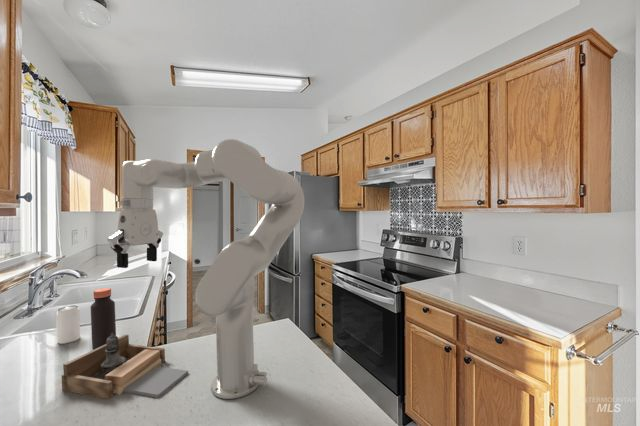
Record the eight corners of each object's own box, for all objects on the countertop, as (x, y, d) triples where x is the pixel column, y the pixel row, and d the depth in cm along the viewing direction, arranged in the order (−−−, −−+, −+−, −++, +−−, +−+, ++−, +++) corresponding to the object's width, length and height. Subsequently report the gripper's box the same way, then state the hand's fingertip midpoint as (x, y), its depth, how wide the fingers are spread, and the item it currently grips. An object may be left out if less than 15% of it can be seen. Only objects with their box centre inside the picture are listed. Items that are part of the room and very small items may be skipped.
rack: (165, 361, 91) (164, 339, 91) (108, 398, 74) (107, 371, 74) (124, 355, 96) (123, 334, 95) (62, 389, 78) (61, 364, 78)
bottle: (116, 347, 101) (114, 290, 101) (91, 353, 97) (89, 294, 97) (116, 340, 107) (114, 286, 106) (93, 345, 103) (90, 289, 102)
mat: (188, 373, 84) (188, 370, 84) (158, 397, 74) (158, 394, 74) (156, 368, 87) (156, 366, 87) (123, 391, 77) (123, 388, 77)
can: (77, 334, 112) (76, 303, 112) (83, 339, 108) (81, 307, 108) (55, 341, 107) (53, 308, 106) (60, 346, 103) (58, 312, 103)
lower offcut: (161, 367, 89) (161, 358, 89) (120, 396, 76) (119, 386, 76) (148, 365, 90) (147, 357, 90) (104, 393, 77) (104, 384, 77)
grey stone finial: (113, 380, 82) (111, 338, 81) (95, 378, 83) (93, 336, 82) (130, 369, 87) (129, 329, 87) (114, 367, 88) (112, 328, 88)
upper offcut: (160, 358, 89) (159, 350, 89) (122, 386, 76) (121, 376, 76) (145, 357, 90) (145, 349, 90) (105, 384, 77) (104, 375, 76)
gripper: (120, 205, 74) (120, 271, 75) (171, 205, 91) (171, 259, 92) (98, 204, 76) (98, 269, 77) (152, 204, 93) (151, 257, 94)
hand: (137, 264), depth 84 cm, fingers open, 9 cm apart
